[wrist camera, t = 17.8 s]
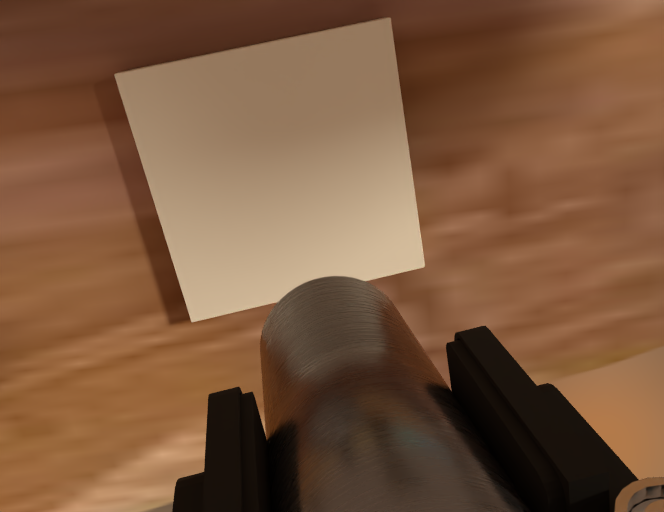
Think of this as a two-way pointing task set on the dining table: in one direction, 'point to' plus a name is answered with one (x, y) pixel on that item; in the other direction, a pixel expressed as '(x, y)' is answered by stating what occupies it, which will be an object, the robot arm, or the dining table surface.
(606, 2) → the dining table surface
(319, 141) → the plate
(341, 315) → the grey brown cylinder
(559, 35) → the dining table surface
